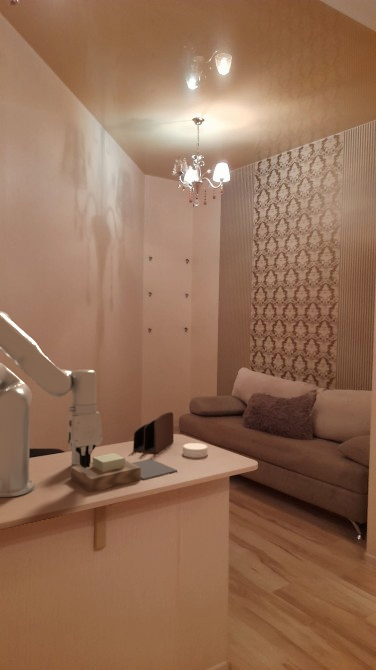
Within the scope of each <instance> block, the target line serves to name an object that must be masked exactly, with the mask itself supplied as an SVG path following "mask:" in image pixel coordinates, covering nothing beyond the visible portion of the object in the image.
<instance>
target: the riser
mask: <svg viewBox="0 0 376 670" xmlns="http://www.w3.org/2000/svg"><path fill="white" fill-rule="evenodd" d="M132 463H133V462H130V461H128V460H126V459H125V467H123V468H118V469H114V470H109V471H105V472H102V471H100V470H99V469H97V468H95V467H93V462H90V467H87V468H84V467H82V466H81V465H78V466H70V480H72V481H73V482H75V483H76V484H78V485H79V486H80V487H82V488H83V489H86V490H87V491H88V492H90V493H92V492H96V491H100V490H104V489H108V488H111V487H112V488H113V487H116V486H120V485H124V484H130V483H132V482H137V481H140V480H142V479H141V467H139V466H137V465H134V464H132Z"/></svg>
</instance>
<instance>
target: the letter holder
mask: <svg viewBox="0 0 376 670" xmlns="http://www.w3.org/2000/svg"><path fill="white" fill-rule="evenodd" d="M174 439H175V438H174V413H173V412H172V411H169V412H165V413H163V414H161V415H160V416H159V417H157V418H156V419H153V420H152V421H150V422H148V423H146V424H144V425H142V426H140V427H139V428H137V429H136V430H135V431H134V433H133V446H132V447H133V450H132V451H133V452H134V451H135V453H142V452H143V454H150V453H151V455H156V454H158V453H159V452H161V451H162V450H163V449H165V448H166V447H168V446H169V444H170V445H172V444H173V443H174Z"/></svg>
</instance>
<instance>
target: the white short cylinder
mask: <svg viewBox="0 0 376 670" xmlns="http://www.w3.org/2000/svg"><path fill="white" fill-rule="evenodd" d="M208 449H209V447H208V445H207V444H205V443H200V442H189V443H186V444H183V445H182V455H183V456H184V457H188V458H191V459H192V458H193V459H199V458H200V459H201V458H205V457H207V456H208V454H209V452H208V451H209V450H208Z"/></svg>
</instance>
